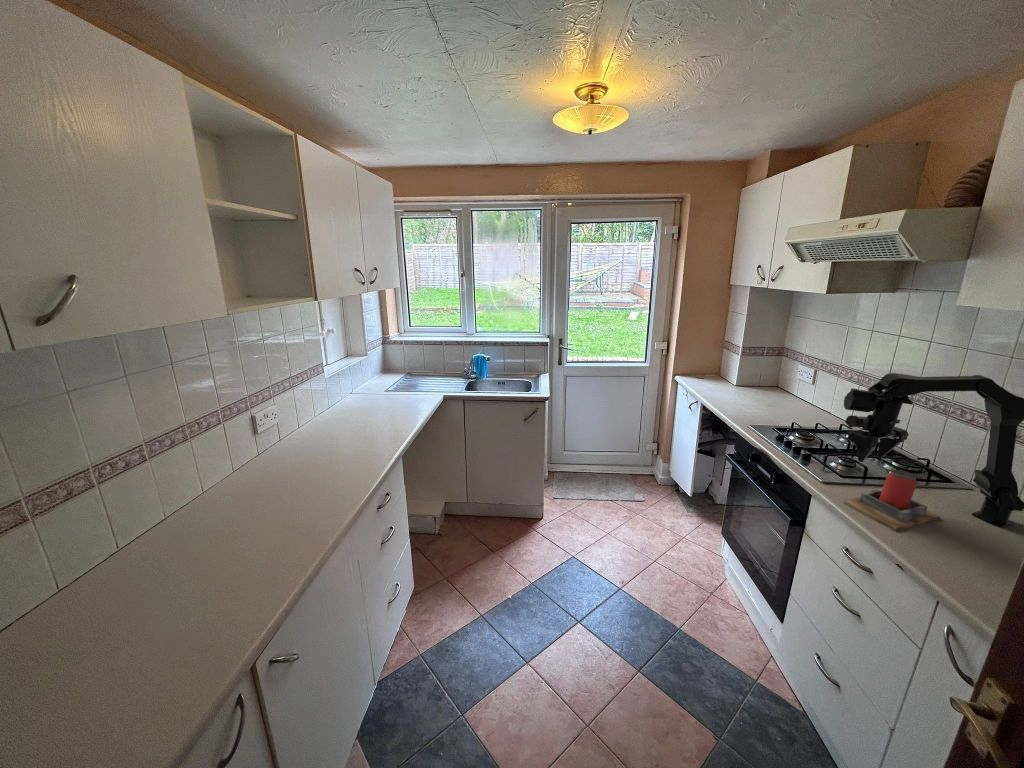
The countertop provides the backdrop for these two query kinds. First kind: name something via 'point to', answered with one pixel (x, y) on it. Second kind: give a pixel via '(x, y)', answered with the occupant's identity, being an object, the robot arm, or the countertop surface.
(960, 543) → the countertop surface
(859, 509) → the can holder
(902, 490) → the beer can
